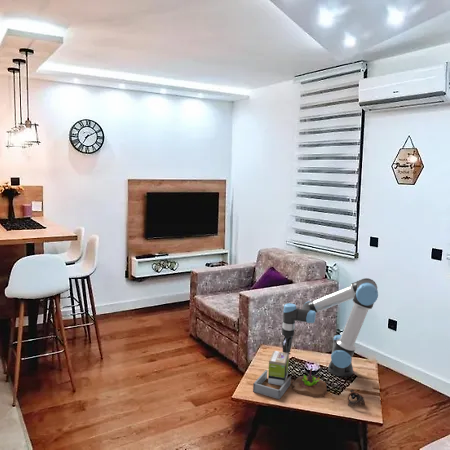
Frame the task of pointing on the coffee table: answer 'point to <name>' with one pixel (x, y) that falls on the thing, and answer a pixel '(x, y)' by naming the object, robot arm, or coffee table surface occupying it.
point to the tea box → (278, 368)
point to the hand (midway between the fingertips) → (285, 364)
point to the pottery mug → (357, 396)
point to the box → (268, 390)
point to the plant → (309, 386)
